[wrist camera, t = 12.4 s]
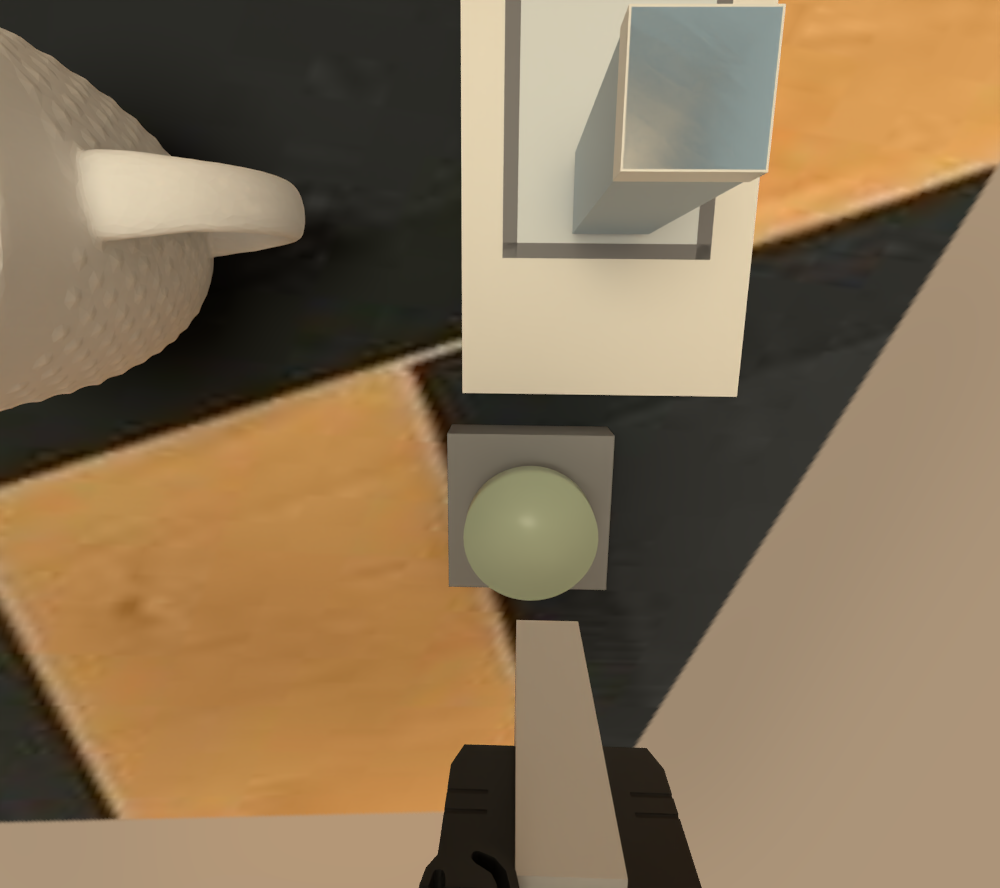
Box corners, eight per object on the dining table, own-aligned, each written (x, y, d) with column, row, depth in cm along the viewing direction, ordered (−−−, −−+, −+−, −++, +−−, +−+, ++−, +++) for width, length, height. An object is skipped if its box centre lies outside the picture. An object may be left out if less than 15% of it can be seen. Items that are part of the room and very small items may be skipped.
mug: (332, 86, 23) (112, -180, 11) (368, 361, 26) (226, 413, 13) (-24, 122, 24) (-635, -88, 11) (45, 387, 26) (-391, 461, 14)
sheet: (463, 391, 26) (462, 393, 26) (460, -284, 20) (459, -297, 20) (733, 395, 26) (737, 396, 25) (803, -288, 20) (810, -301, 20)
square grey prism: (568, 237, 24) (620, 171, 12) (571, 156, 23) (629, 3, 12) (644, 238, 24) (767, 172, 12) (649, 156, 23) (786, 3, 12)
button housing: (453, 567, 28) (449, 586, 26) (452, 424, 26) (447, 433, 24) (599, 570, 28) (605, 589, 26) (607, 426, 26) (614, 436, 24)
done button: (470, 560, 27) (463, 599, 23) (470, 450, 25) (463, 472, 22) (584, 563, 26) (594, 602, 23) (589, 452, 25) (601, 475, 22)
